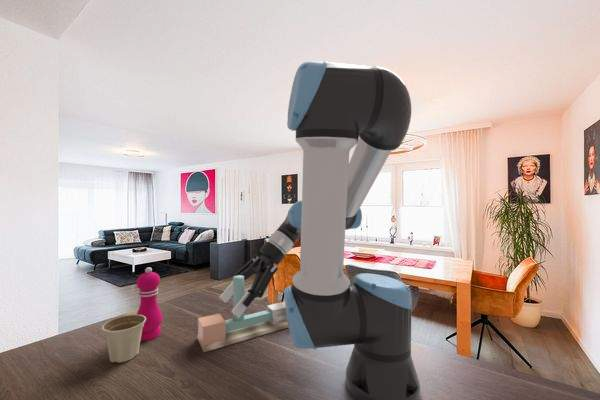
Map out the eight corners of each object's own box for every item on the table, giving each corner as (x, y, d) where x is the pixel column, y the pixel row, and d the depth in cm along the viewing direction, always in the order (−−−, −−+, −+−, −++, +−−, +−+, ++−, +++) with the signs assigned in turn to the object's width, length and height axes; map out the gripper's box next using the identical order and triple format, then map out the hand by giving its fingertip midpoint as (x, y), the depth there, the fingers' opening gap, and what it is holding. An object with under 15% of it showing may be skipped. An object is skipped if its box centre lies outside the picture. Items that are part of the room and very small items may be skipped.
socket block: (219, 330, 79) (219, 313, 79) (225, 339, 74) (225, 321, 74) (198, 335, 76) (198, 318, 76) (202, 345, 70) (202, 327, 70)
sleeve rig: (288, 314, 92) (288, 298, 92) (300, 323, 86) (300, 306, 86) (197, 338, 76) (197, 319, 76) (203, 352, 70) (203, 330, 70)
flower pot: (131, 342, 74) (131, 311, 74) (154, 351, 70) (154, 318, 70) (93, 361, 66) (93, 326, 66) (116, 372, 62) (116, 335, 62)
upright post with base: (273, 315, 87) (273, 269, 86) (277, 319, 84) (278, 272, 84) (206, 332, 75) (206, 280, 75) (209, 337, 73) (209, 283, 73)
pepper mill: (140, 345, 73) (140, 272, 73) (129, 336, 77) (129, 267, 77) (167, 334, 79) (167, 266, 79) (155, 327, 83) (155, 262, 83)
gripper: (303, 263, 77) (252, 331, 68) (267, 249, 97) (225, 300, 89) (287, 246, 74) (232, 315, 66) (254, 236, 94) (208, 287, 86)
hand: (228, 307), depth 77 cm, fingers open, 11 cm apart
